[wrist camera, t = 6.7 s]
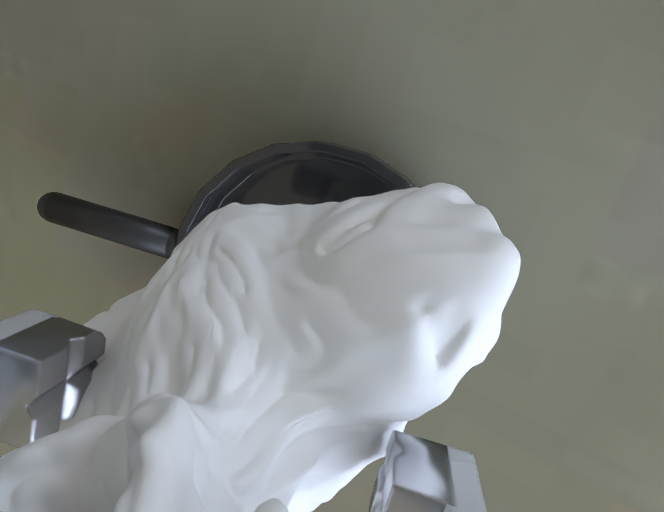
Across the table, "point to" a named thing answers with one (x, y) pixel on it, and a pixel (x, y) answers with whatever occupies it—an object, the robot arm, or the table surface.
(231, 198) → the pan
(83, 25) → the table surface
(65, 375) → the robot arm
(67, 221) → the pan handle
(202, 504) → the bust
